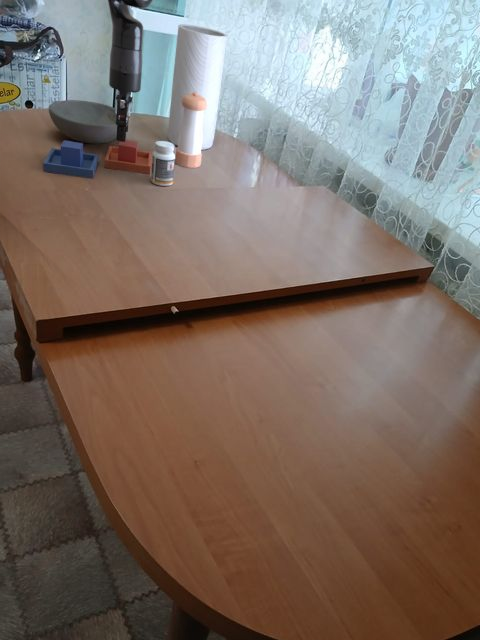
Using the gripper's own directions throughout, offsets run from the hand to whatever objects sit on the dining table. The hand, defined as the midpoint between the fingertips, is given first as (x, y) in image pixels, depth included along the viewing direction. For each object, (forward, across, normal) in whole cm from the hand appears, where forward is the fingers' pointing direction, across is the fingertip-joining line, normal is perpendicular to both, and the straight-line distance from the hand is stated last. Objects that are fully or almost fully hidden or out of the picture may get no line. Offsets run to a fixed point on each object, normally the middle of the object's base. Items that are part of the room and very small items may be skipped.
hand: (122, 136), depth 140 cm
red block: (+7, -2, +2) cm, 7 cm away
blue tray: (+8, +6, -12) cm, 15 cm away
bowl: (+8, -17, -10) cm, 21 cm away
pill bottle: (+8, +8, +11) cm, 16 cm away
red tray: (+8, -2, +2) cm, 8 cm away
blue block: (+7, +6, -12) cm, 15 cm away
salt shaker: (+8, -10, +18) cm, 22 cm away
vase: (+7, -29, +19) cm, 35 cm away
